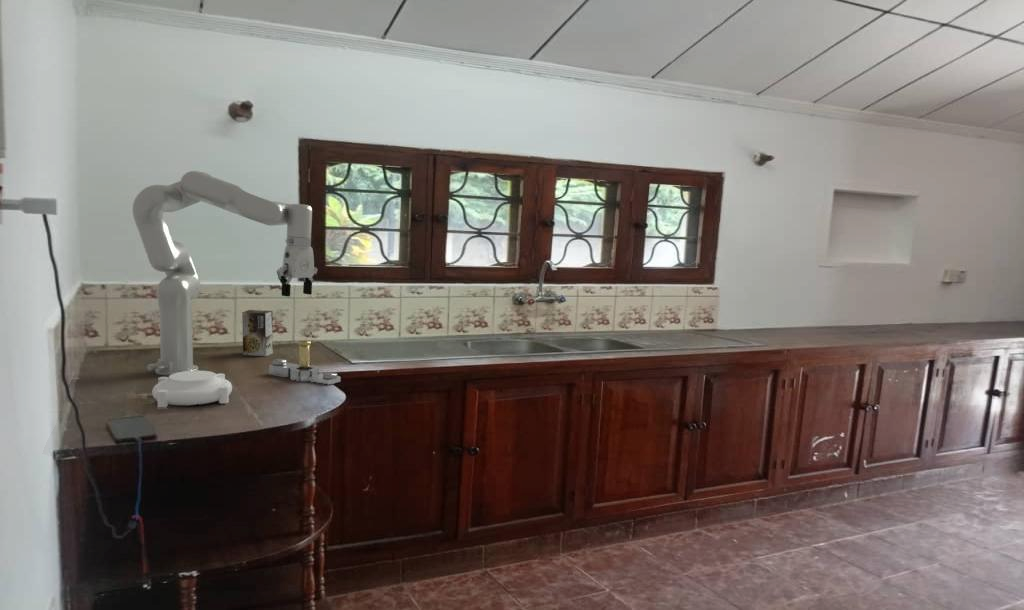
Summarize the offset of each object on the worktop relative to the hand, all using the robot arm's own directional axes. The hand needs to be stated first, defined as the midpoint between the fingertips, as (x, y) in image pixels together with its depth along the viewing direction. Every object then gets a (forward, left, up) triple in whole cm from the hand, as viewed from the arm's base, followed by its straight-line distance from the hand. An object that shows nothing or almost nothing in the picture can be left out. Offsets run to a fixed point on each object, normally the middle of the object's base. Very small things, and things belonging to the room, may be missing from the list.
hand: (296, 295), depth 231 cm
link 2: (-3, -10, -26) cm, 28 cm away
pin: (-3, -6, -26) cm, 27 cm away
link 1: (-3, -2, -26) cm, 27 cm away
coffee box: (+15, +32, -27) cm, 44 cm away
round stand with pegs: (-39, +2, -27) cm, 48 cm away
